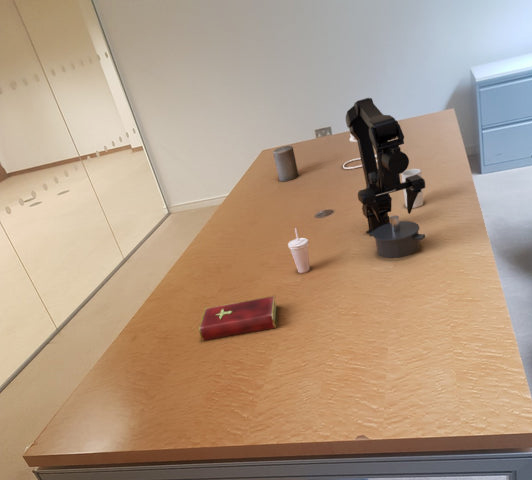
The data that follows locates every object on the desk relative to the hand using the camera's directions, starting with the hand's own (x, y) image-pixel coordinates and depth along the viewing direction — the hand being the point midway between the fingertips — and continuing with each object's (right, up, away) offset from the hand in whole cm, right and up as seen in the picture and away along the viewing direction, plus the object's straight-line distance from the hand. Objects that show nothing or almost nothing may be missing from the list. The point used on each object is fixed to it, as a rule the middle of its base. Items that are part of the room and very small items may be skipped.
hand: (394, 217), depth 168 cm
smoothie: (-26, -14, +11) cm, 32 cm away
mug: (+16, +14, +36) cm, 41 cm away
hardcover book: (-46, -33, -9) cm, 57 cm away
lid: (+1, -4, +2) cm, 5 cm away
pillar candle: (-28, +44, +102) cm, 114 cm away
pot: (+3, -9, +6) cm, 11 cm away
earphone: (+7, +48, +93) cm, 105 cm away
